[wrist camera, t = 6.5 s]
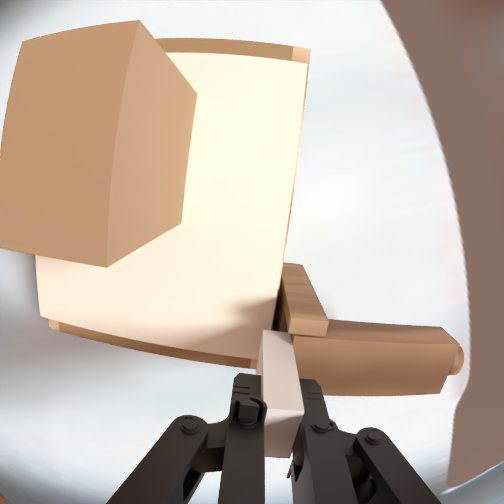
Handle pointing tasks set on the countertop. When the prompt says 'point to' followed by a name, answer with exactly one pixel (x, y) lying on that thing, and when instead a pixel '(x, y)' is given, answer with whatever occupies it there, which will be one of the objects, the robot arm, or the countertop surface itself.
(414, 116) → the countertop surface
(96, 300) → the lid
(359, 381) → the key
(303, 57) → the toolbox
